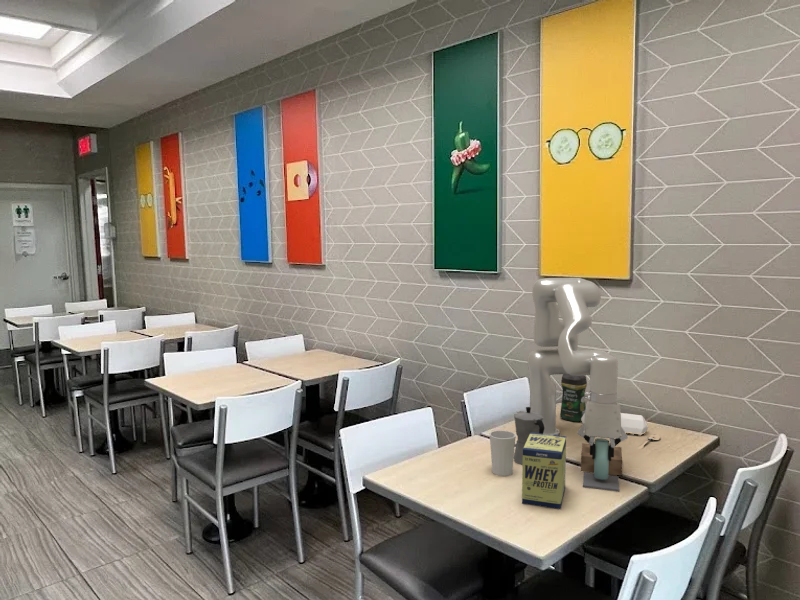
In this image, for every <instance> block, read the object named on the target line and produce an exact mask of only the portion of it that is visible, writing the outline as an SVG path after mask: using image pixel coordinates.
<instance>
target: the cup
mask: <svg viewBox="0 0 800 600" xmlns="http://www.w3.org/2000/svg"><path fill="white" fill-rule="evenodd" d="M516 437H517V433H514V432H512V431H509V430H502V429H501V430H500V429H499V430H493V431H490V433H489V442H490V455H491V456H490V457H491V473H493V475H496V476H501V477H507V476H511V475H513V471H514V470H513V468H514V453H515V448H516Z"/></svg>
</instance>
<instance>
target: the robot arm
mask: <svg viewBox="0 0 800 600" xmlns="http://www.w3.org/2000/svg"><path fill="white" fill-rule="evenodd" d="M531 290H532V291H531V294H532V300H533V302H534V311H535V312H534V322H533V323H534V325H533V341H534V344H536V345H537V346H538V347H542V348H538V349H535V350H531V351H530V352H529V353H528V356H527V366H528V373H529V374H528V375H529V376H528V377H529V407H531V410H530V412H533V413H537V414H540V415H541V416H542V417H543V420H542V422H543V424H544V427H545V428H544V433H543V434H550V435H559V436H560V434H561V431H560V429H559V428H557V427H556V425H557V424H556V422H557V421H556V419H557V418H556V417H557V416H556V415H557V413H556V412H557V386H556V384H555V382H554V380H552V378H551V376H554V375H555V376H556V375H563V374H569V375H573V376H580V375H584V376H589V390H588V391H585V398H588V400H587V401H586V402H585V419H584V424H582V425H581V426H580V428H579V429H578V430H577V434H578V435H579V437H582V438H583V440H585V441H586V442H587V444H589V445H590V455H592V459H595V439H596V438H602V439H609V461H611V457H614V447H617V446H618V444H620V443H621V442H623V441H626V440H627V439H628V434H626V433H625V431H624V430H623V428H622V427H621V413H622V412H621V405H620V403H619V402H618V373H619V372H618V370H619V368H618V366H619V362H618V359H617V357H616V356H615V355H614V356H613V355H610V354H609V352H607V351H605V350H602V349H593V350H591V349H590V350H589V349H588V350H587V349H584V350H583V349H582V350H578V348H579V347H578V345H579V334H580V333H583V332H585V331H586V330H588V329H589V328H590V327H591V325H592V323H593V321H592V320H593V319H592V317H591V314H590V312H589V308H596V307H597V306H598V305H599V304H600V302H601V295H602V294H601V291H600V288H599V286H598V285H597V284H596V283H594V282H593V281H590V280H587V279H585V278H581V277H545V278H539V279H537V280H536V281H535V282H534V283H533V286H532V289H531ZM560 316H561V319H562V320H559V319H560ZM544 347H547V348H544ZM548 347H550V348H548ZM551 347H557V348H551Z"/></svg>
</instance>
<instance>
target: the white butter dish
mask: <svg viewBox="0 0 800 600" xmlns="http://www.w3.org/2000/svg"><path fill="white" fill-rule="evenodd" d="M584 419H585V413H584V415H583V416H582V418H581V421H582V422H581V424H582V425H583V424H584ZM621 427H622V428H623V430H624V431H625V432H632V433H640V434H641V433H644V432H646V431H647V432H648V428H649V427H648V424H647V420H646V419H645V417H644V416H643V415H640V414H634V413H633V414H632V413H626V412H625V413H624V412H621ZM636 428H637V429H636ZM647 432H646V433H647Z"/></svg>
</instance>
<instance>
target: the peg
mask: <svg viewBox="0 0 800 600" xmlns="http://www.w3.org/2000/svg"><path fill="white" fill-rule="evenodd" d="M594 444H595V459H594V477H595V478H597V479H602V480H604V479H608V472H609V445H610V439H608V438H601V437H597V438H595V439H594Z"/></svg>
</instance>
